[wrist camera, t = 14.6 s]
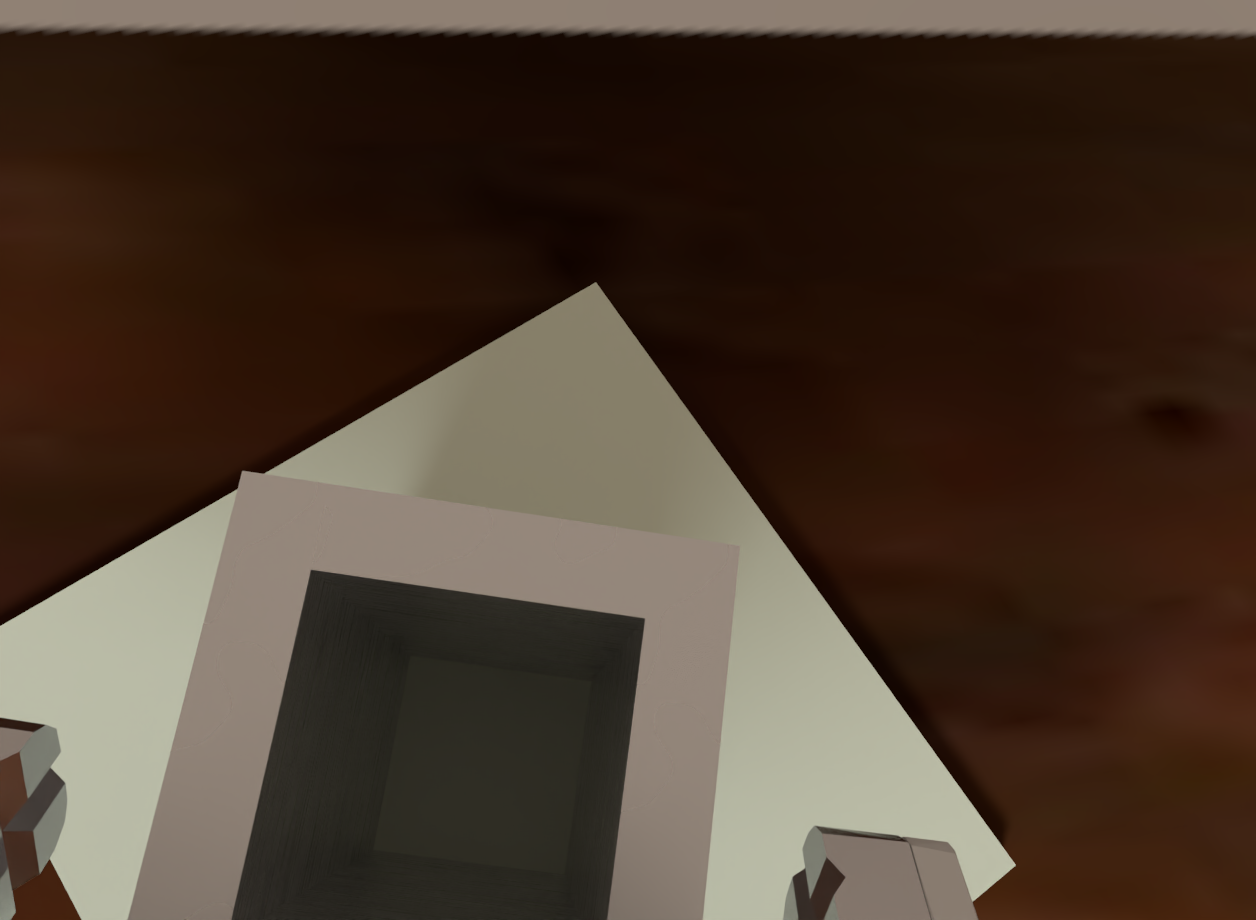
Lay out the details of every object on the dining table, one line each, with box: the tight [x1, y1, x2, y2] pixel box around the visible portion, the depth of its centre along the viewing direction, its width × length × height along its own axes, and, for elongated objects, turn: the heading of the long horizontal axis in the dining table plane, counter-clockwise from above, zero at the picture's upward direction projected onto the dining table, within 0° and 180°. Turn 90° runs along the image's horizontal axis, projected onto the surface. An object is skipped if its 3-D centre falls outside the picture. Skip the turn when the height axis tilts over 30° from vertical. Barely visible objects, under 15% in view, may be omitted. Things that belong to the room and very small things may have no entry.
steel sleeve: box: [128, 471, 740, 920], centre depth 14 cm, size 5×5×9 cm
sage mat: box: [0, 282, 1015, 920], centre depth 19 cm, size 14×14×1 cm
